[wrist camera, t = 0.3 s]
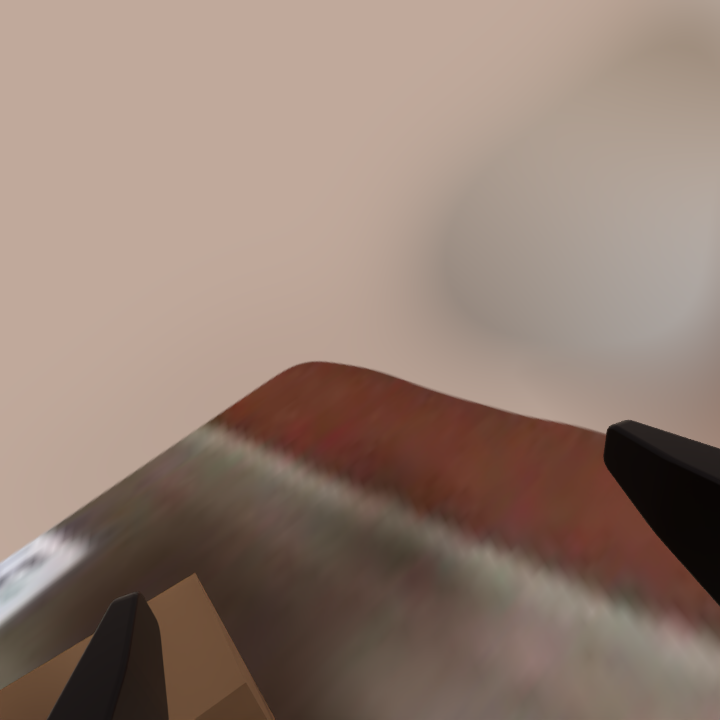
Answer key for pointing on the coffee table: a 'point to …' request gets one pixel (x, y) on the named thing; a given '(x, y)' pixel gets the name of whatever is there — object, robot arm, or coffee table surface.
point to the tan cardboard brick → (181, 666)
